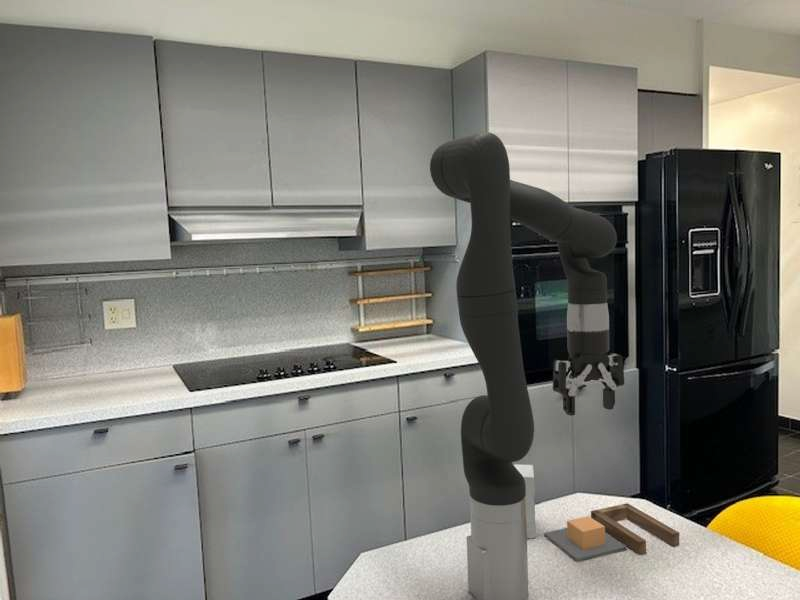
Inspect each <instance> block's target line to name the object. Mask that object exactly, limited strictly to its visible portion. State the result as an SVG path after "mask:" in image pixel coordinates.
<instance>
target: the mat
mask: <svg viewBox="0 0 800 600" xmlns="http://www.w3.org/2000/svg"><path fill="white" fill-rule="evenodd" d="M543 537H545V538H546V537H547V538H548V539H547V538H546V539H547V540H549V541H550V542H551V543H552V542H553V543H552V544H553V545H555V546H556V547H558V549H560V550H561V551H562V552H564V554H566V553H567V554H568V555H567V556H569V557H570V558H571V559H572V558H573V560H574V561H575V562H576V561H579V562H581V561H580V560H583V561H585V560H584V559H587V560H590V559H589V558H591V559H595V558H598V557H603V556H608V555H612V554H615V553H618V552H624V551H627V549H628V547H627V546H625V545H624V544H622V543H621V542H619V541H618V540H616V539H615V538H613V537H612V536H610V535H609V534H607V533H606V532H605V545H601V546H597V547H593V548H589V549H585V550H583V549H582V548H580V547H579V546H577V545H576V544H575V543H573V542H572V541H571V540H569V539H568V538H567V527H564V528H561V529H557V530H551V531H547V532H544V533H543ZM594 557H595V558H594Z"/></svg>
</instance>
